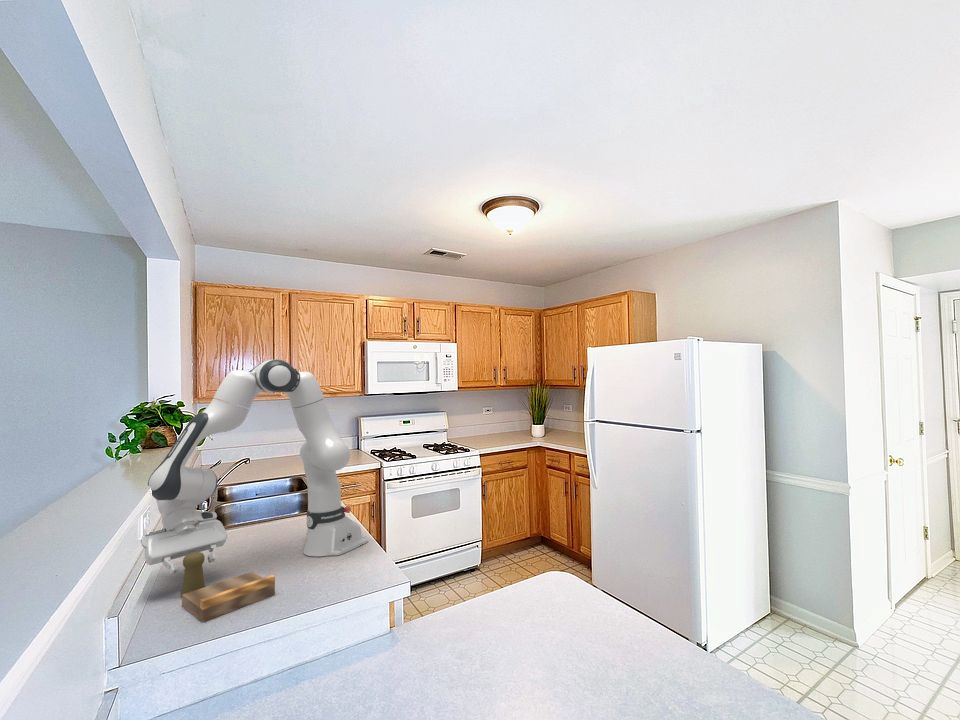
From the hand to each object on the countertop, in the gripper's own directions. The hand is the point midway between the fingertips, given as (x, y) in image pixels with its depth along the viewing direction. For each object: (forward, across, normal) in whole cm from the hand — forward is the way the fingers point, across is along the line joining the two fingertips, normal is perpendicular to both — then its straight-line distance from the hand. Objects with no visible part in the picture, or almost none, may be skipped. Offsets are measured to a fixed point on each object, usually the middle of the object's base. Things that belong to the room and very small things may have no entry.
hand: (193, 566), depth 126 cm
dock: (+15, +4, -4) cm, 16 cm away
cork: (+6, 0, +5) cm, 8 cm away
